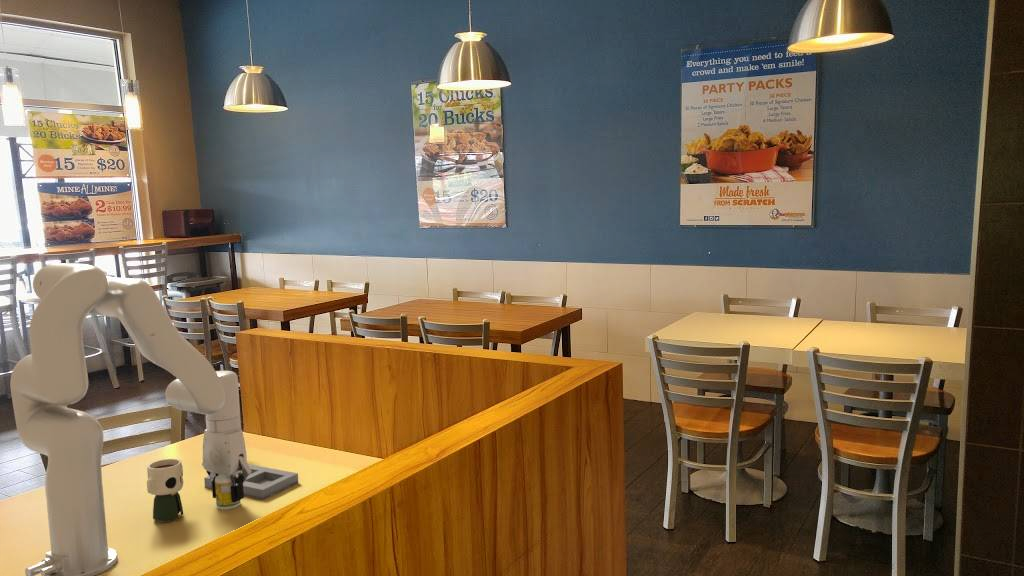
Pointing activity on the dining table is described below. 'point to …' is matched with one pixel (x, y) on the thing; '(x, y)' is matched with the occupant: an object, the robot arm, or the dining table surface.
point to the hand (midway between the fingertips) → (228, 497)
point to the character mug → (165, 488)
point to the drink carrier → (264, 482)
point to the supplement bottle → (224, 492)
